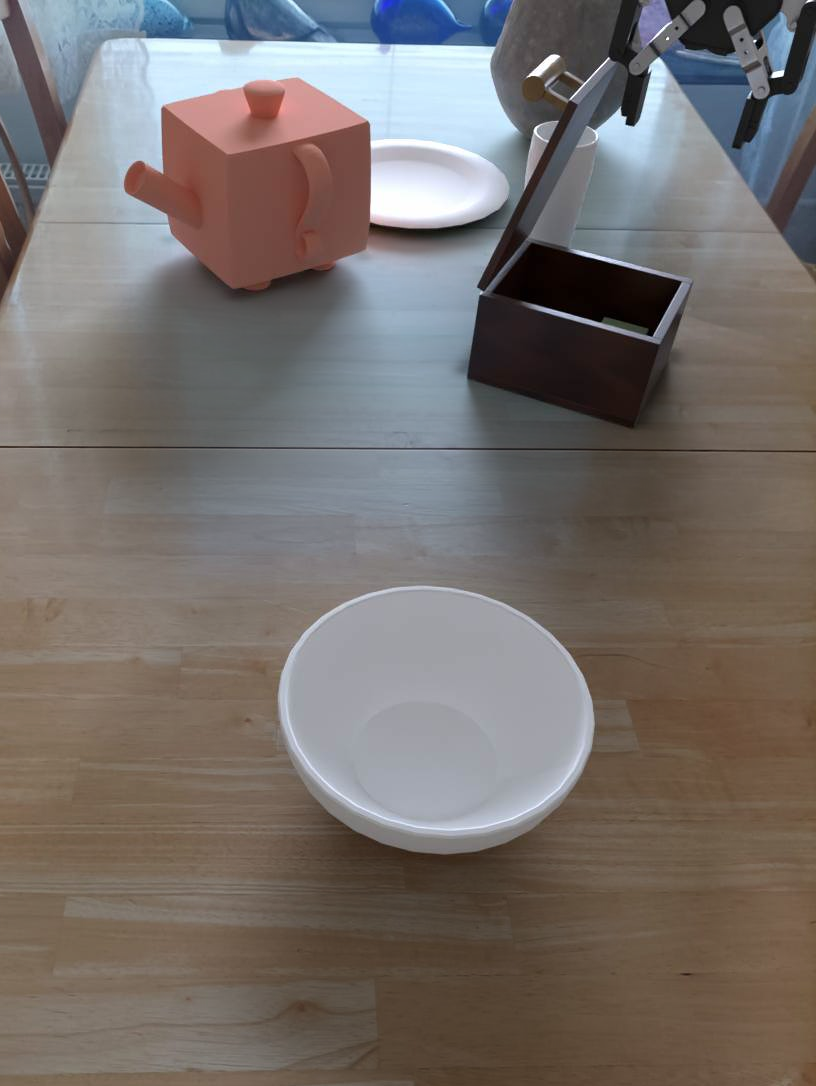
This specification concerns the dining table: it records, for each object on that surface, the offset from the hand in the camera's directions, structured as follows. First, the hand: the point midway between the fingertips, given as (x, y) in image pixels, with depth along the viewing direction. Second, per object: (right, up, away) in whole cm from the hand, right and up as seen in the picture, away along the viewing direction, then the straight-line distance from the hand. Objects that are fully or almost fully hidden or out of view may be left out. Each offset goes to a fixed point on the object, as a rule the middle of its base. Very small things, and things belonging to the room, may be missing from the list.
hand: (684, 134), depth 77 cm
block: (-1, -14, +18) cm, 23 cm away
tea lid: (-9, 0, +8) cm, 12 cm away
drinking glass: (-5, +1, +32) cm, 33 cm away
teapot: (-38, +2, +32) cm, 50 cm away
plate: (-19, +16, +45) cm, 51 cm away
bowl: (-22, -49, -12) cm, 55 cm away
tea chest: (-5, -13, +19) cm, 24 cm away
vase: (+2, +30, +58) cm, 65 cm away
